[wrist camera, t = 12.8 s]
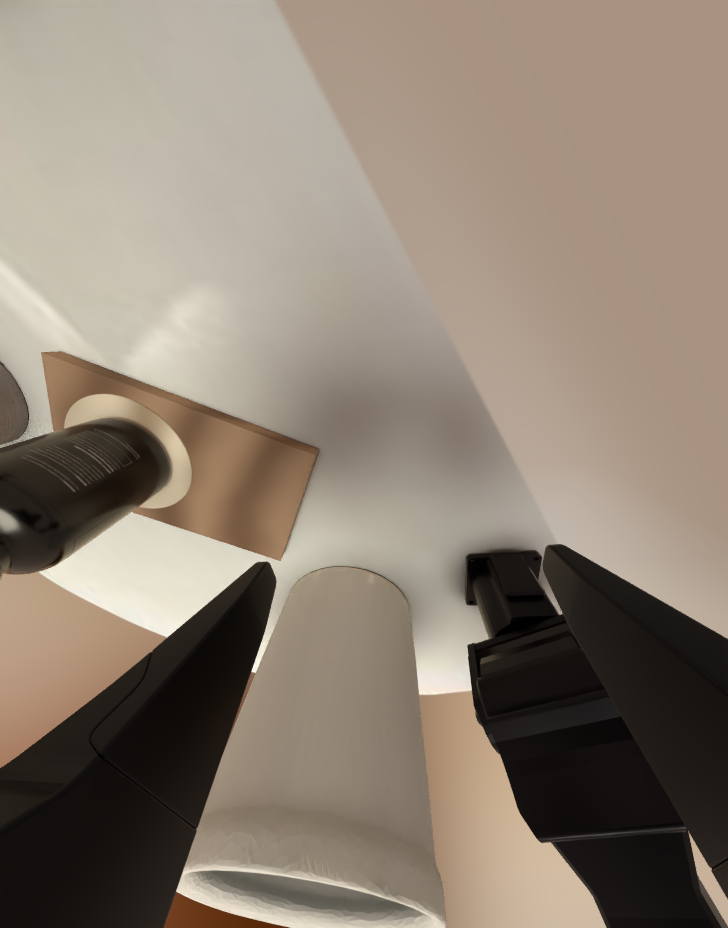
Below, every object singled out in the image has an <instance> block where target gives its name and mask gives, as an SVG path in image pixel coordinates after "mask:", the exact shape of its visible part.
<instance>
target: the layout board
mask: <svg viewBox="0 0 728 928" xmlns="http://www.w3.org/2000/svg"><path fill="white" fill-rule="evenodd" d="M41 354H42V360H43V367H44V373H45V379H46V386H47V392H48V398H49V404H50V411H51V417H52V423H53V430H54V432H55V431H58V430H61V429H65V428H68V427H71V426H74V425H78V424H81V423H85V422H88V421H92V420H95V419H100V418H115V419H121V420H124V421H127V422H130V423H132V424H135V425H137V426H138V427H140V428H142V429H143V430H145V431H146V432H147V433H149V434H150V435H151V436H152V437H153V438H154V439H155V440H156V441H157V442H158V443H159V444H160V446H161V447H162V449H163V450H164V452H165V454H166V456H167V458H168V461H169V466H170V475H169V479H168V482H167V484H166V485H165V487H164V488H163V489H162V490H161V491H159V492H158V493H157V494H155V495H154V496H153V497H151V498H150V499H149V500H147V501H146V502H145V503H143V504H142V505H140V506H139V507H138V508H136V509H135V510H133V511H132V512H133V513H136V514H139V515H142V516H146V517H149V518H152V519H155V520H158V521H161V522H164V523H167V524H170V525H173V526H176V527H179V528H182V529H185V530H188V531H191V532H194V533H197V534H200V535H203V536H206V537H209V538H212V539H215V540H218V541H221V542H224V543H227V544H231V545H234V546H237V547H240V548H243V549H246V550H249V551H252V552H255V553H258V554H261V555H264V556H267V557H270V558H273V559H276V560H279V561H281V558H282V556H283V554H284V552H285V549H286V546H287V543H288V540H289V537H290V534H291V531H292V528H293V525H294V522H295V520H296V517H297V514H298V511H299V508H300V505H301V502H302V499H303V496H304V493H305V490H306V487H307V484H308V481H309V478H310V475H311V472H312V469H313V466H314V463H315V460H316V457H317V455H318V452H319V449H316V448H314V447H311V446H308V445H306V444H303V443H301V442H298V441H295V440H293V439H290V438H287V437H285V436H282V435H279V434H277V433H274V432H271V431H269V430H266V429H264V428H261V427H258V426H256V425H253V424H250V423H248V422H245V421H242V420H240V419H237V418H235V417H232V416H229V415H227V414H224V413H221V412H219V411H216V410H213V409H211V408H208V407H205V406H203V405H200V404H198V403H195V402H192V401H190V400H187V399H184V398H182V397H179V396H176V395H174V394H171V393H168V392H166V391H163V390H161V389H158V388H155V387H153V386H150V385H147V384H145V383H142V382H139V381H137V380H134V379H131V378H129V377H126V376H124V375H121V374H118V373H116V372H113V371H110V370H108V369H105V368H102V367H100V366H97V365H94V364H92V363H89V362H87V361H84V360H81V359H79V358H76V357H73V356H71V355H68V354H65V353H63V352H42V353H41Z"/></svg>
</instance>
